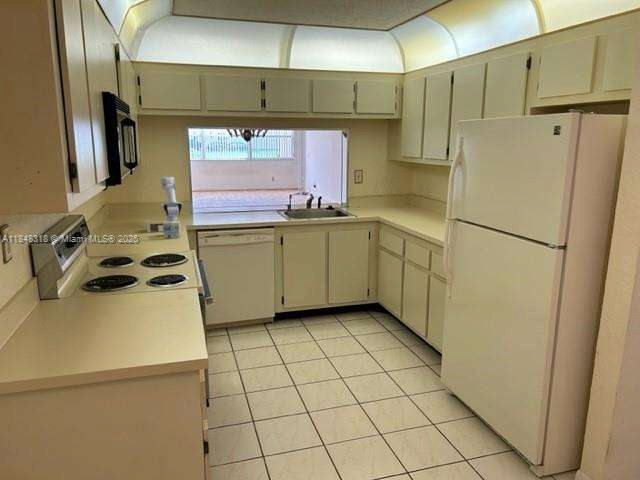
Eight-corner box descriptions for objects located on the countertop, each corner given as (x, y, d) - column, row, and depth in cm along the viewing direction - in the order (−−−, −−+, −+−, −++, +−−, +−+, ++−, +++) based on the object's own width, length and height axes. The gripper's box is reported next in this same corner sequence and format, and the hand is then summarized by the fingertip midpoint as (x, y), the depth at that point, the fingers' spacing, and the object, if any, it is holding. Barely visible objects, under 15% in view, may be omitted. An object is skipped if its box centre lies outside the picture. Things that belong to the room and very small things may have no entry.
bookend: (147, 230, 342) (146, 219, 340) (150, 229, 343) (149, 218, 341) (147, 232, 333) (146, 221, 331) (150, 232, 334) (149, 221, 332)
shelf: (147, 231, 344) (147, 224, 343) (173, 230, 350) (172, 222, 349) (147, 234, 333) (146, 227, 332) (173, 233, 339) (173, 225, 337)
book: (158, 229, 344) (158, 225, 343) (165, 229, 345) (165, 225, 344) (158, 231, 336) (158, 227, 335) (165, 231, 338) (165, 227, 337)
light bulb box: (163, 238, 322) (162, 223, 320) (164, 236, 328) (163, 221, 326) (180, 238, 324) (179, 222, 322) (180, 236, 331) (180, 220, 328)
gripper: (160, 196, 338) (162, 212, 332) (182, 194, 342) (184, 211, 337) (161, 201, 344) (163, 217, 338) (182, 200, 348) (184, 216, 343)
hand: (173, 214), depth 338 cm, fingers open, 7 cm apart
